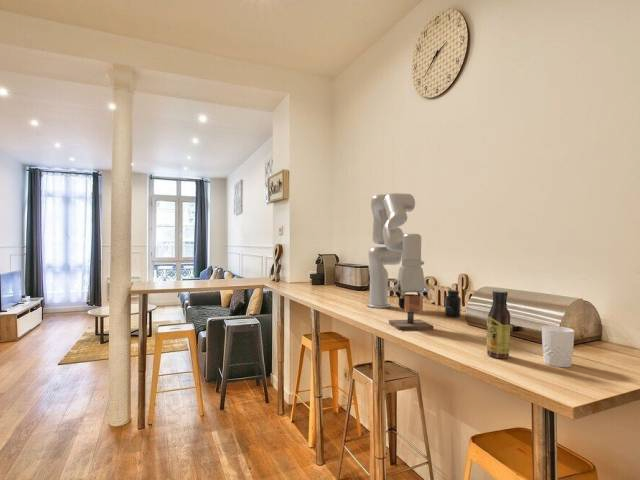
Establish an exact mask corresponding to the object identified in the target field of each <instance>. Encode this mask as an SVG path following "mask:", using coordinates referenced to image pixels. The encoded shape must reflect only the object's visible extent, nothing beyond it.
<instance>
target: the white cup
mask: <svg viewBox="0 0 640 480" xmlns="http://www.w3.org/2000/svg"><path fill="white" fill-rule="evenodd" d="M574 342H575V330H574V329H572V328H569V327H564V326H557V325H542V326H541V344H542V352H543V353H542V355H543V356H542V357H543V362H544V363H545V364H547V365H549V366H553V367H558V368H571V367H572V365H573V364H572V363H573V354H574Z"/></svg>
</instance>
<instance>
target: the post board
mask: <svg viewBox="0 0 640 480" xmlns="http://www.w3.org/2000/svg"><path fill="white" fill-rule="evenodd" d="M414 316H415V312H407V319H388V324H389V325H390V326H391V327H394V328H395V330H396V329H397V330H398V331H400V330H403V331H433V330H434V325H432V324H430V323H428V322H426V321H424V320H422V319H415V318H414ZM400 332H401V331H400Z"/></svg>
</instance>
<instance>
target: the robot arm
mask: <svg viewBox="0 0 640 480" xmlns="http://www.w3.org/2000/svg"><path fill="white" fill-rule="evenodd" d="M370 207H371V208H370V209H371V212H372V215H373V216H372V217H373V224H372V242H373V243H374V244H376V245H383V246H373V247H371V248H370V249H369V250H368V261H369V262H368V263H369V302H366V307H369V308H376V309H387V308H391V303H389V302H388V301H389V300H388V297H389V295H388V293H389V290H388V289H389V287H388V286H389V272H388V270H387V269H386V267H385V266H386V265H387V266H393V265H394V266H395V265H400V263H401V266H400V267H399V269H398V274H397V275H398V276H397V283H396V284H395V285H393V286H392V288H391V291H392V292H393V293H394V294H395V296H397V298H398V306H400V308H402V309H404V299H403V297H404V295H405V294H407V293H416V294H417V295H420V296H423V299H425V297H426V296H427V295H428V293H429V292H430V291H431V288H430V287H429V286H428V285H427V284H426V283H425V274H424V269H423V267H422V266H423V265H425V261H424V260H422V236H421V234H419V233H404V232H403V230H402V229H401V227H402V226H403V225H405V223H406V222H407V220H408V215H407V213H410V212H412V211H414V209H415V207H416V200H415V198H414V196H413V195H412V194H410V193H400V192H397V193H396V192H393V193H389V194H388V193H387V194H383V193H382V194H376V195H373V196H372V198H371V201H370ZM398 291H399V292H398Z"/></svg>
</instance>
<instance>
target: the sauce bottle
mask: <svg viewBox="0 0 640 480" xmlns="http://www.w3.org/2000/svg"><path fill="white" fill-rule="evenodd" d="M507 298H508V291H505V290H500V289H495V290H492V305H491V308H490V310H489V312H488V315H487V327H486V328H487V329H486V331H487V332H486V353H487V355H488V356H489V357H492V358H494V359H508V358H509V357H510V355H509V354H510V347H511V346H510V345H511V342H510V341H511V312H510V311H509V310H508V307H507V306H508V304H507V303H508V302H507Z"/></svg>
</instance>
